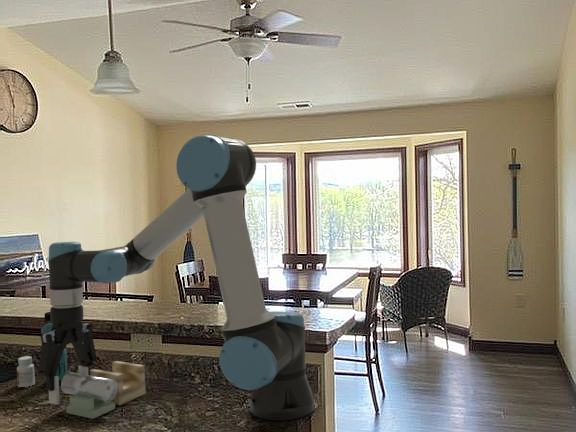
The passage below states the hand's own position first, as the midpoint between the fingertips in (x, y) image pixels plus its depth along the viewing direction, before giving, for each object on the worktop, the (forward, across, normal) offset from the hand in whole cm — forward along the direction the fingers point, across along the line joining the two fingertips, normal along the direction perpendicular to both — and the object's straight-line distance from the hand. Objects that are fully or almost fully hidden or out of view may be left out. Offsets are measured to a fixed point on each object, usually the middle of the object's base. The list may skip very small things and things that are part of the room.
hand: (69, 397), depth 143 cm
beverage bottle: (+3, -12, -20) cm, 24 cm away
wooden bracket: (+3, -11, +5) cm, 13 cm away
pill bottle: (+3, -8, -26) cm, 27 cm away
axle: (-3, -1, +6) cm, 7 cm away
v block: (+3, -1, +5) cm, 6 cm away
